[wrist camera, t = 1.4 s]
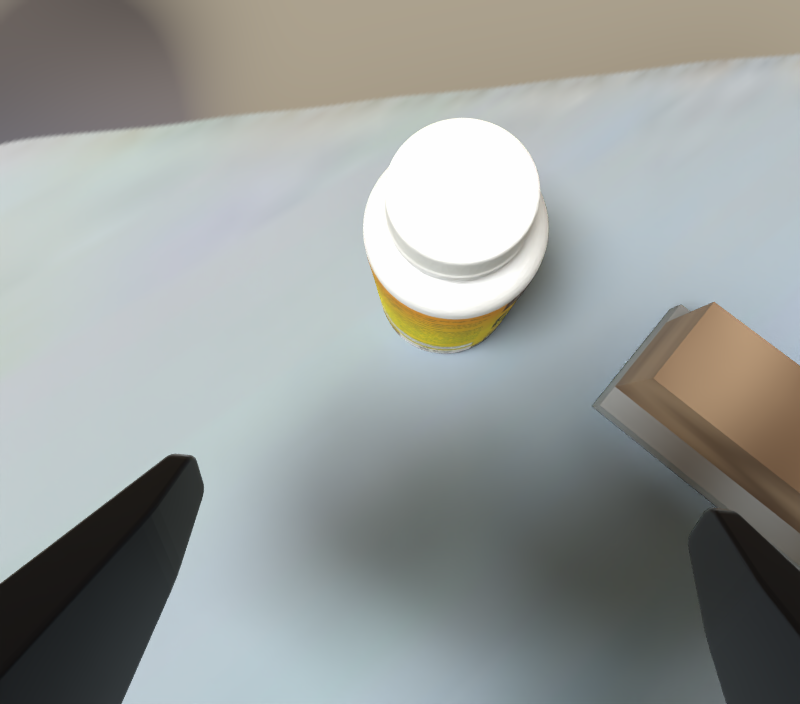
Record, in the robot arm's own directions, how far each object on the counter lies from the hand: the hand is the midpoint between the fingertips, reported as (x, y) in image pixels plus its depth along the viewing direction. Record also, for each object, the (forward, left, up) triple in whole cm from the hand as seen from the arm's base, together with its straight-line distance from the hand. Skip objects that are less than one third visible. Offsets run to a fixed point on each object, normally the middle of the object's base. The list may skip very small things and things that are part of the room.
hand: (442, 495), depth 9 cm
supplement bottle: (+6, +4, -13) cm, 15 cm away
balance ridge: (+9, -9, -13) cm, 18 cm away
